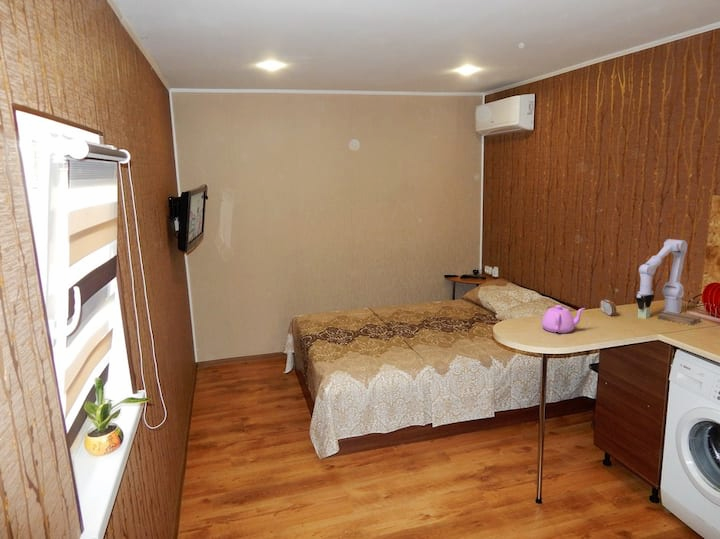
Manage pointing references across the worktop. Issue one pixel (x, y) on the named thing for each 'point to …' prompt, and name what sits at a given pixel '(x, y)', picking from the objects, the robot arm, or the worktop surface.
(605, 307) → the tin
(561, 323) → the teapot
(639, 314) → the sage block
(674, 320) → the walnut slab
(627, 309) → the worktop surface
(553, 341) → the worktop surface
